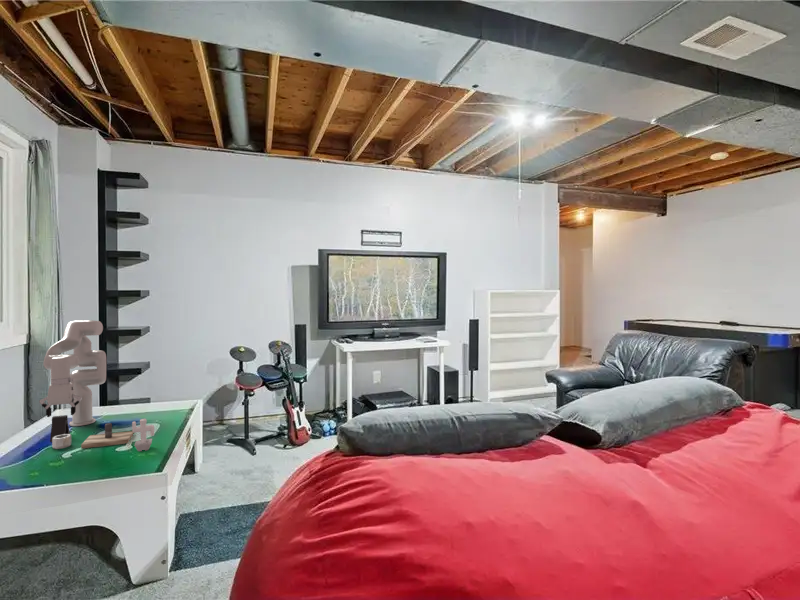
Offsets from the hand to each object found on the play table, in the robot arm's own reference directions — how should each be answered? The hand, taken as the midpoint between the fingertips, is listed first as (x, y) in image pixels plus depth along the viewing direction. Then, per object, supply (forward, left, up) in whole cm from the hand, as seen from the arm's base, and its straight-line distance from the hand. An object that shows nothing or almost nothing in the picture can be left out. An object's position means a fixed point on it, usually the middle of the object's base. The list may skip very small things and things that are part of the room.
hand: (61, 415), depth 216 cm
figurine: (+19, +39, -16) cm, 46 cm away
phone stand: (-14, -5, -16) cm, 22 cm away
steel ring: (0, 0, -16) cm, 16 cm away
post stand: (0, +20, -16) cm, 25 cm away
